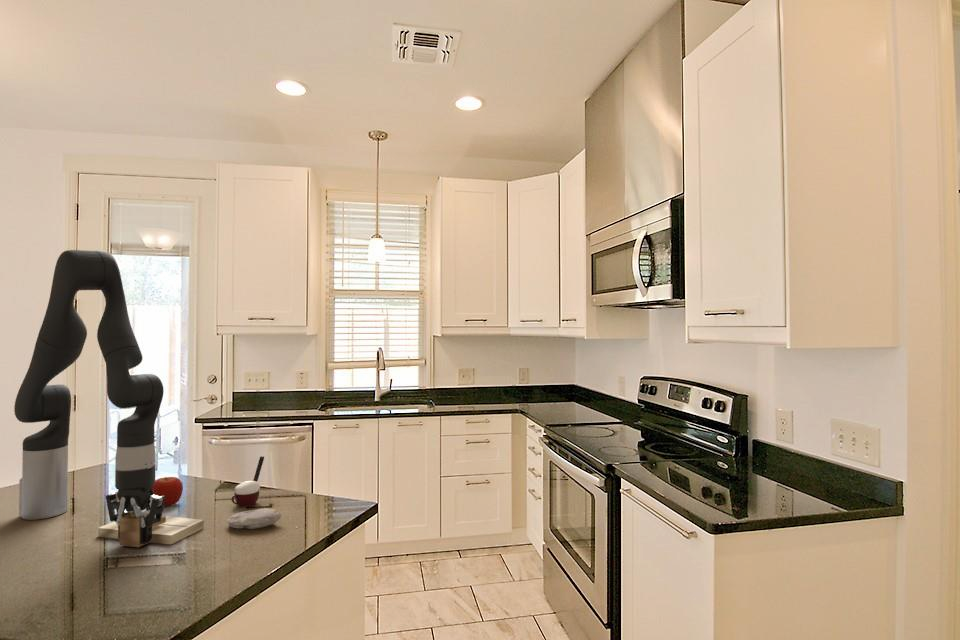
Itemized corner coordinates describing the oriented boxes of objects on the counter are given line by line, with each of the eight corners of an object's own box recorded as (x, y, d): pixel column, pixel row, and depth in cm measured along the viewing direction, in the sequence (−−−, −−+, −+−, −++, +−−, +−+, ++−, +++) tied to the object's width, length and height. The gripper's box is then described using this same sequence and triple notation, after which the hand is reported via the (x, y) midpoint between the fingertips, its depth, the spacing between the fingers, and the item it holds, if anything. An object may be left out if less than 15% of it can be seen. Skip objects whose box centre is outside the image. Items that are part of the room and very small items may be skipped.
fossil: (218, 513, 129) (249, 502, 138) (218, 531, 129) (249, 519, 138) (257, 516, 125) (287, 505, 134) (257, 535, 124) (287, 522, 134)
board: (98, 536, 124) (98, 527, 124) (134, 521, 134) (134, 513, 134) (171, 544, 120) (171, 535, 120) (203, 528, 130) (203, 519, 130)
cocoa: (233, 511, 142) (231, 467, 142) (227, 504, 147) (226, 461, 147) (270, 503, 148) (269, 460, 148) (264, 496, 153) (262, 455, 153)
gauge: (119, 545, 118) (119, 514, 118) (153, 530, 127) (153, 501, 127) (138, 547, 117) (138, 515, 117) (170, 532, 126) (171, 502, 126)
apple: (159, 512, 141) (159, 482, 141) (143, 506, 145) (143, 477, 145) (188, 503, 147) (188, 475, 148) (172, 499, 152) (172, 471, 152)
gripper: (93, 467, 117) (93, 545, 117) (148, 471, 114) (147, 551, 114) (123, 458, 125) (123, 532, 124) (176, 462, 121) (175, 538, 121)
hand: (135, 541), depth 119 cm, fingers closed on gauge, 5 cm apart
